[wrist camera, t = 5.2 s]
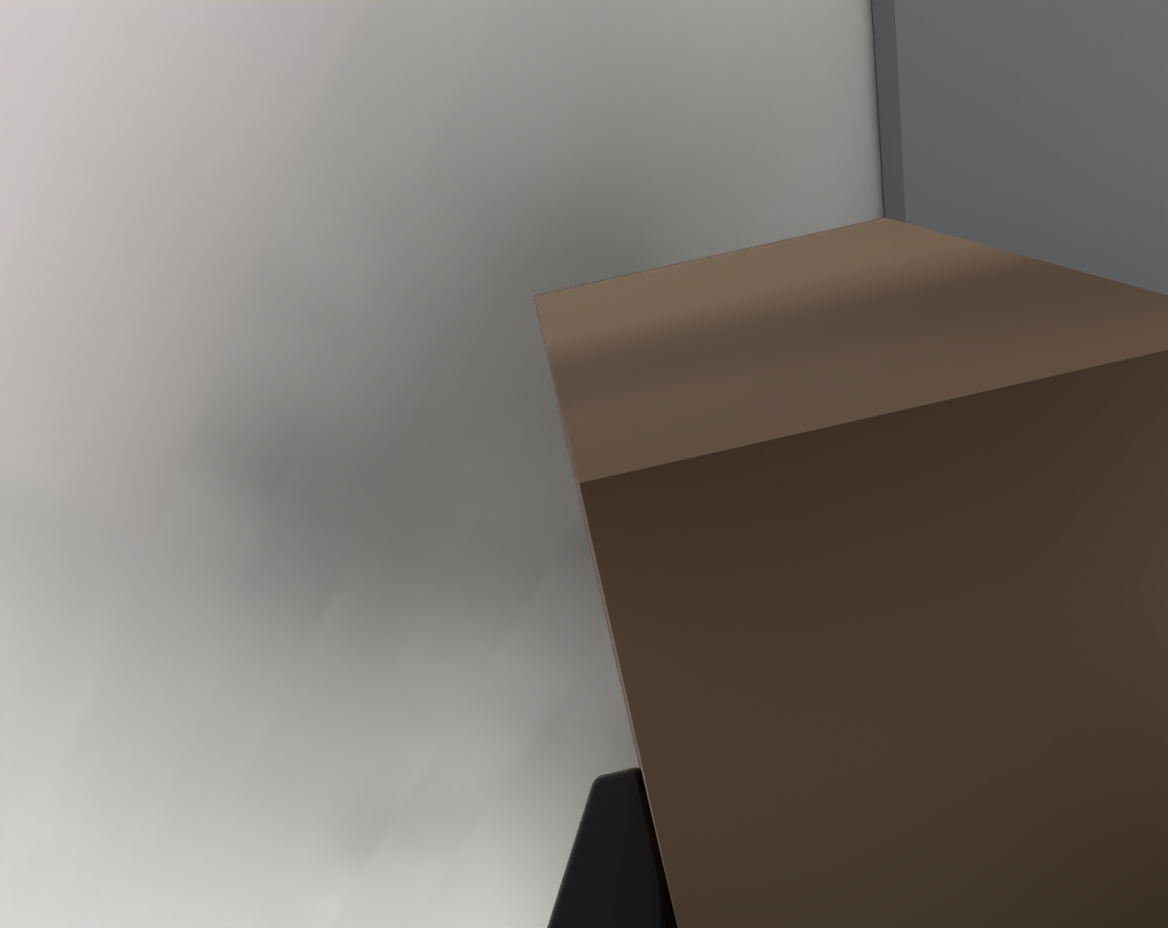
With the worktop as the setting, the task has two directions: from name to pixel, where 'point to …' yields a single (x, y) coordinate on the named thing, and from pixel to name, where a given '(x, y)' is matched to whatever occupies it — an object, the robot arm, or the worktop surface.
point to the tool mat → (1030, 128)
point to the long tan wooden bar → (883, 576)
